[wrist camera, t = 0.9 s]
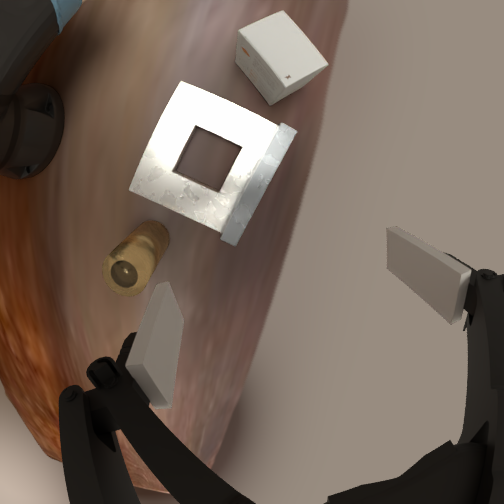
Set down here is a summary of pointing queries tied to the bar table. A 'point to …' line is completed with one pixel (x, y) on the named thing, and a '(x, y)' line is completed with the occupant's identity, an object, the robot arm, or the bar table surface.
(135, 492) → the robot arm
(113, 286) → the bushing
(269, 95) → the small box
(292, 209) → the bar table surface
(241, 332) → the bar table surface
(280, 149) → the plate
